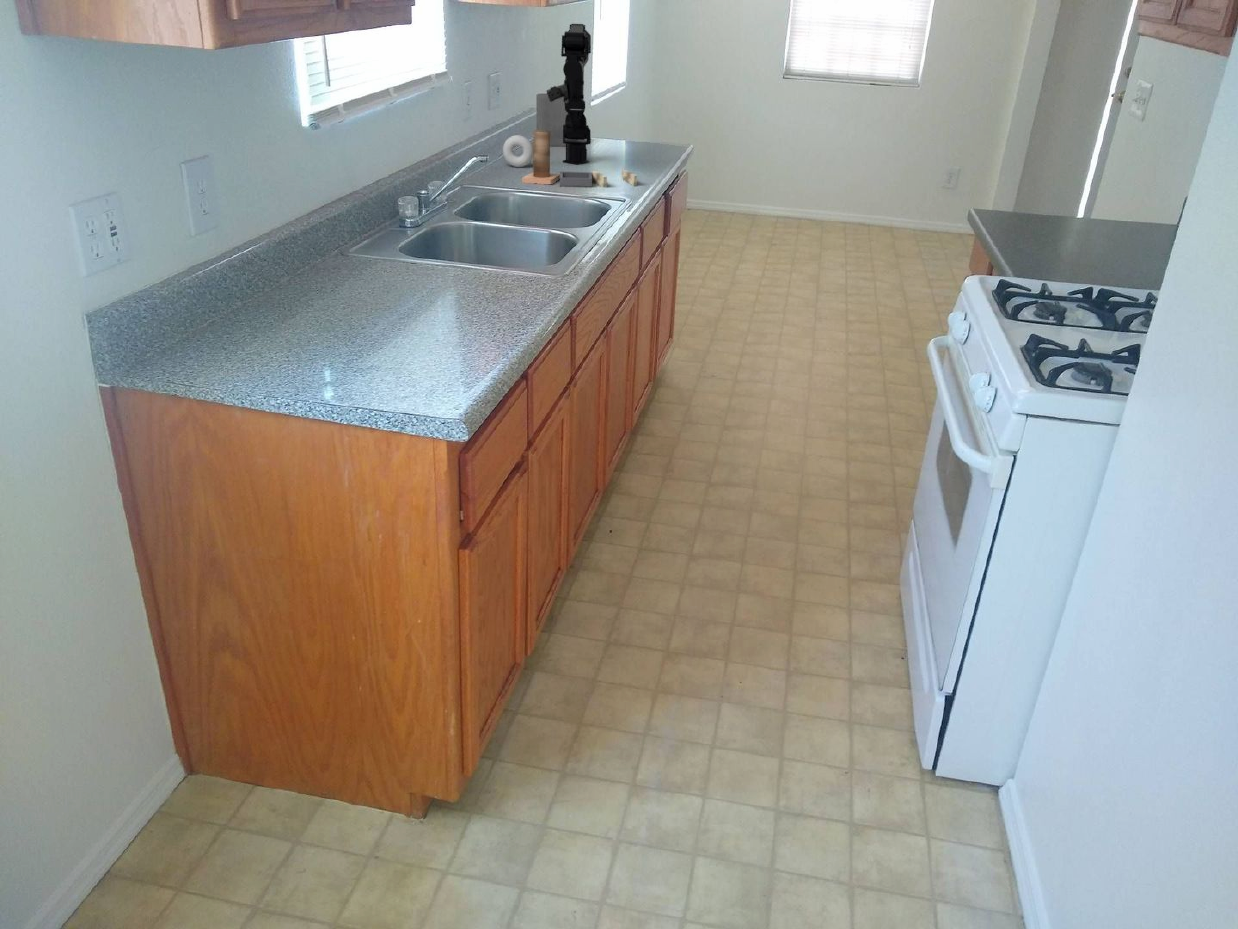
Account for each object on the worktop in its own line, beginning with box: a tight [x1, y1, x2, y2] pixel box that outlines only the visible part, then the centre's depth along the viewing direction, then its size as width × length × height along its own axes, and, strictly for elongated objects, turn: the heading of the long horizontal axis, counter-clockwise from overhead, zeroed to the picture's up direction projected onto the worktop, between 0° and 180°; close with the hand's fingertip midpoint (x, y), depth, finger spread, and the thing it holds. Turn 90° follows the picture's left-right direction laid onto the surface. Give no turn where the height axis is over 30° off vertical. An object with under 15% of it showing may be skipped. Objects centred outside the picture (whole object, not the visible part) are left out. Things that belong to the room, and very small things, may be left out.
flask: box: [535, 93, 572, 148], centre depth 342 cm, size 15×6×20 cm, turn 96°
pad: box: [521, 171, 560, 185], centre depth 290 cm, size 9×9×2 cm
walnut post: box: [532, 129, 551, 178], centre depth 287 cm, size 5×5×13 cm
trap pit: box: [559, 171, 593, 188], centre depth 288 cm, size 10×10×2 cm
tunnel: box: [591, 168, 638, 188], centre depth 290 cm, size 10×11×3 cm
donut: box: [502, 134, 533, 168], centre depth 306 cm, size 10×4×10 cm, turn 87°
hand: (573, 129), depth 298 cm, fingers open, 9 cm apart
